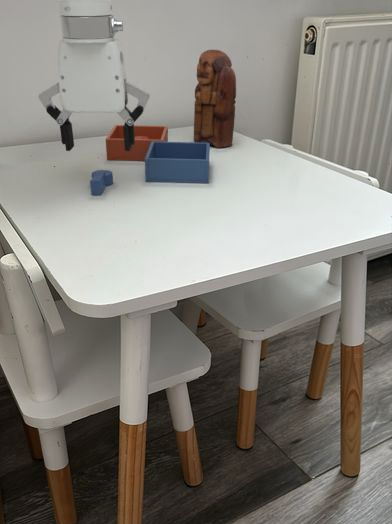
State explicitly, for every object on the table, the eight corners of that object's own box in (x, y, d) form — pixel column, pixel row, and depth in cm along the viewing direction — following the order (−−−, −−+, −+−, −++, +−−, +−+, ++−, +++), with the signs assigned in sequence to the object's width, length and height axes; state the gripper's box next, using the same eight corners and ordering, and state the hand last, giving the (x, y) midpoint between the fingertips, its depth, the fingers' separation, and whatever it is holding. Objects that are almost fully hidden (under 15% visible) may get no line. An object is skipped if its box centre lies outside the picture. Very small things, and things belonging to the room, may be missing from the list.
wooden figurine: (184, 138, 125) (184, 48, 115) (206, 134, 128) (208, 46, 118) (217, 150, 117) (221, 54, 107) (240, 145, 121) (245, 52, 111)
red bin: (106, 160, 110) (105, 139, 108) (116, 144, 120) (114, 124, 118) (163, 161, 110) (163, 140, 107) (168, 145, 120) (167, 126, 118)
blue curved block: (106, 195, 93) (105, 181, 91) (85, 194, 93) (83, 180, 91) (114, 180, 99) (113, 166, 98) (94, 179, 99) (93, 166, 98)
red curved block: (145, 155, 111) (145, 142, 110) (127, 154, 111) (127, 142, 110) (149, 144, 118) (149, 133, 117) (132, 144, 118) (132, 132, 117)
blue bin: (145, 181, 99) (144, 158, 97) (152, 162, 109) (151, 141, 107) (208, 183, 99) (209, 160, 97) (209, 163, 109) (209, 142, 107)
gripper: (148, 27, 85) (153, 143, 95) (36, 27, 86) (52, 143, 95) (143, 32, 79) (149, 155, 89) (22, 32, 79) (41, 155, 89)
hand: (99, 149), depth 92 cm, fingers open, 9 cm apart
